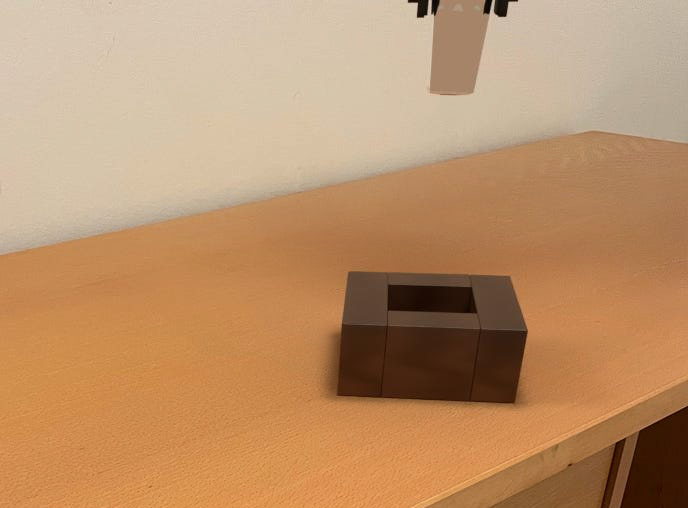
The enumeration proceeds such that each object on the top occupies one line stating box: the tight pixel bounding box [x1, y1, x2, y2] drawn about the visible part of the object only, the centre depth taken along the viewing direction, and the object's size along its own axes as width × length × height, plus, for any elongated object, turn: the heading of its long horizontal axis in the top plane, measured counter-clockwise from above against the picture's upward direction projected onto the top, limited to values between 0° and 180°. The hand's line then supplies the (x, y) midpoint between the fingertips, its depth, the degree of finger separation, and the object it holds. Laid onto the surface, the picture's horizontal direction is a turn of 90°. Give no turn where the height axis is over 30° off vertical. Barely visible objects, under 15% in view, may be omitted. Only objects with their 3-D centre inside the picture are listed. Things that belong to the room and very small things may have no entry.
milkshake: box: [426, 0, 494, 96], centre depth 67 cm, size 4×5×10 cm
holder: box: [336, 270, 529, 404], centre depth 70 cm, size 12×12×5 cm
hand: (460, 12), depth 67 cm, fingers closed on milkshake, 4 cm apart
